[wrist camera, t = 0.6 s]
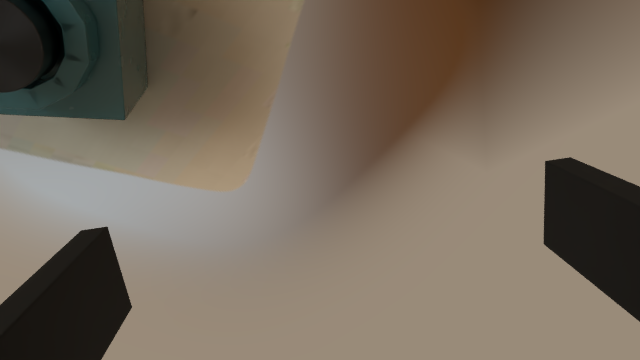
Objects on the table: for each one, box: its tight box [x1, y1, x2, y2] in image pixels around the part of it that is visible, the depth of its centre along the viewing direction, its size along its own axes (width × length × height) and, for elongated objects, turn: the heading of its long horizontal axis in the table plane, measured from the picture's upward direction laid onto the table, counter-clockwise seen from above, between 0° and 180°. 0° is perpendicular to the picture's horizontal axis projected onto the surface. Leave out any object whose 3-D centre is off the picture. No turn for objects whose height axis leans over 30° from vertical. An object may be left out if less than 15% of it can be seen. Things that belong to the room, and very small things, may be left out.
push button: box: [0, 0, 60, 93], centre depth 23 cm, size 5×5×2 cm
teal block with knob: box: [0, 0, 148, 120], centre depth 28 cm, size 10×10×11 cm
